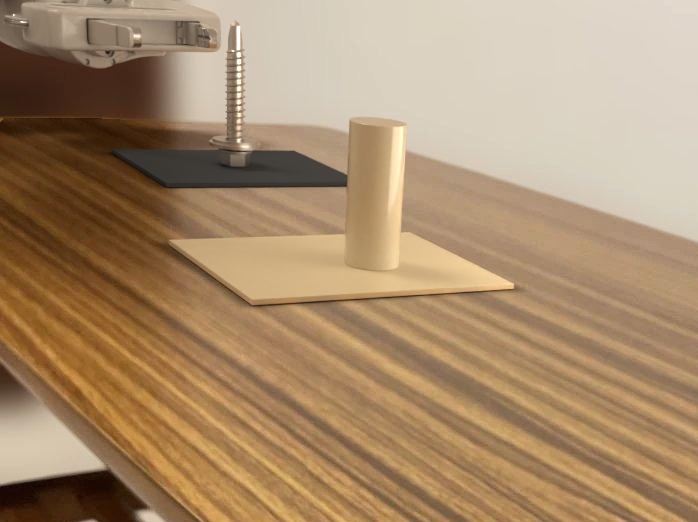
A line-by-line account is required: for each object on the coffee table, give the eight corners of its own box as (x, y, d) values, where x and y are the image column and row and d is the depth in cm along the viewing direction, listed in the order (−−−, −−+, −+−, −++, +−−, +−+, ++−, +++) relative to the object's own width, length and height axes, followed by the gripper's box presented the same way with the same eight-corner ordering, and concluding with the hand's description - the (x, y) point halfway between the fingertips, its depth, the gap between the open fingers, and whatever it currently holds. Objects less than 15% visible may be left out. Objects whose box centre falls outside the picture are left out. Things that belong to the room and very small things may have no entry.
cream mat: (251, 305, 79) (251, 299, 79) (168, 244, 90) (168, 239, 90) (513, 289, 90) (514, 283, 89) (409, 236, 101) (409, 231, 101)
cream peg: (359, 272, 88) (365, 126, 83) (334, 258, 91) (339, 116, 86) (408, 269, 90) (417, 127, 86) (383, 255, 93) (390, 117, 88)
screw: (232, 171, 116) (198, 161, 119) (271, 168, 120) (237, 158, 122) (232, 22, 110) (196, 16, 113) (273, 24, 114) (237, 17, 117)
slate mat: (166, 187, 108) (166, 182, 108) (111, 153, 120) (111, 149, 120) (361, 185, 119) (361, 181, 118) (294, 154, 130) (294, 150, 130)
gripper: (-9, -18, 117) (81, -1, 110) (168, -9, 132) (256, 6, 125) (-4, 53, 119) (84, 74, 112) (169, 54, 135) (256, 72, 128)
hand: (176, 38), depth 119 cm, fingers open, 8 cm apart
